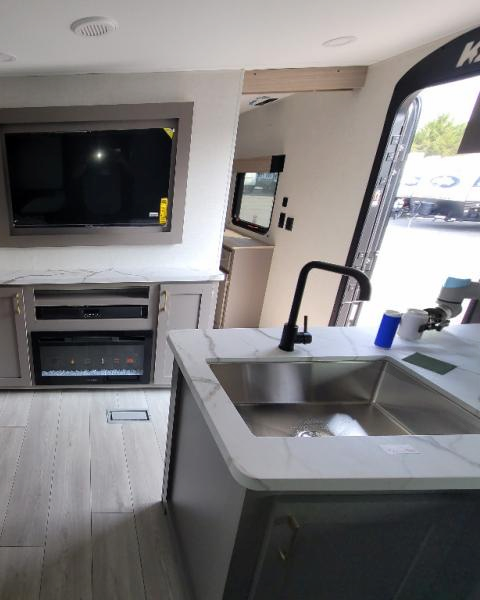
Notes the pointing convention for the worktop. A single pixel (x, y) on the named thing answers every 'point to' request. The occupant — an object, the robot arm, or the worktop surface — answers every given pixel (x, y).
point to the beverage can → (387, 329)
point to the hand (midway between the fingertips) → (406, 325)
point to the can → (412, 324)
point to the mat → (429, 363)
